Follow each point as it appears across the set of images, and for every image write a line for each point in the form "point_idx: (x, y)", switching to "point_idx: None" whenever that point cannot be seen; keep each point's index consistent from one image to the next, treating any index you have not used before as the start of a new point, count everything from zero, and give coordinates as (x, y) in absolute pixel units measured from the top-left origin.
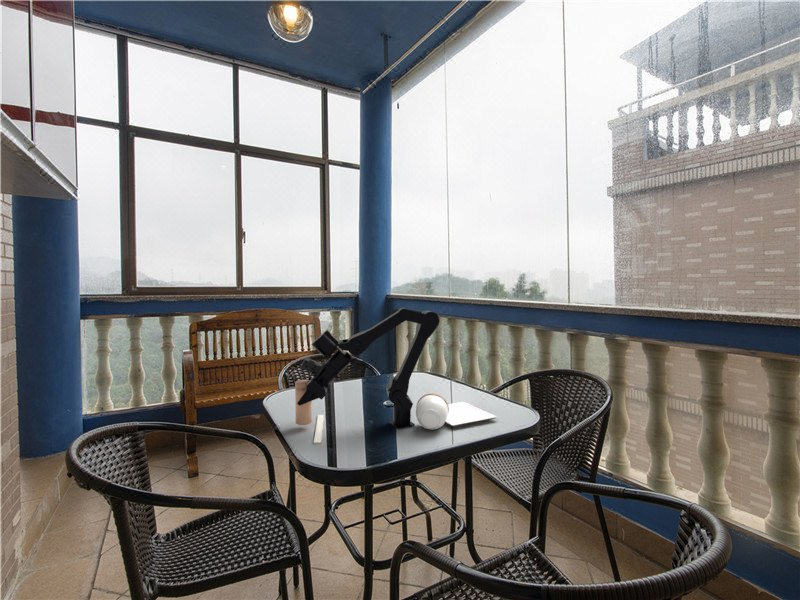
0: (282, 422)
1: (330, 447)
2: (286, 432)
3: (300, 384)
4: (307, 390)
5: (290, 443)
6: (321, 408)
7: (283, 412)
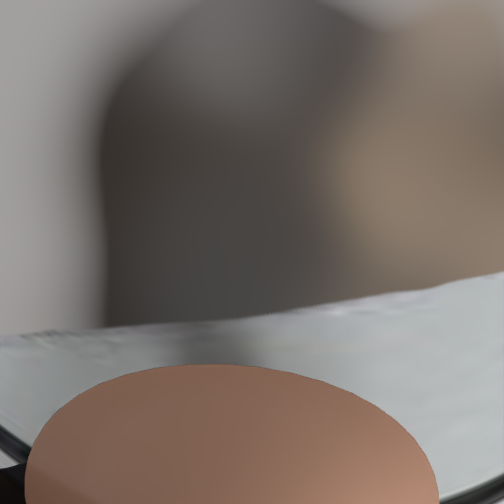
0: (359, 325)
1: (21, 450)
2: (214, 339)
3: (37, 446)
4: (3, 479)
5: (86, 336)
6: (475, 474)
7: (468, 323)
